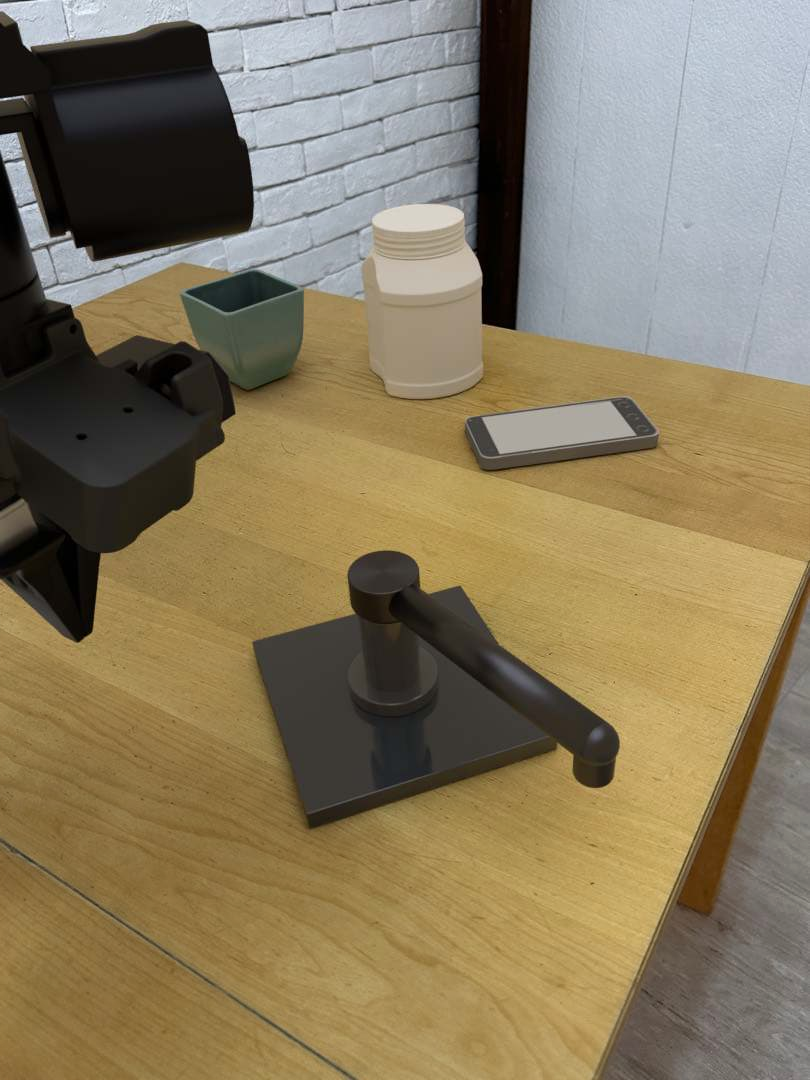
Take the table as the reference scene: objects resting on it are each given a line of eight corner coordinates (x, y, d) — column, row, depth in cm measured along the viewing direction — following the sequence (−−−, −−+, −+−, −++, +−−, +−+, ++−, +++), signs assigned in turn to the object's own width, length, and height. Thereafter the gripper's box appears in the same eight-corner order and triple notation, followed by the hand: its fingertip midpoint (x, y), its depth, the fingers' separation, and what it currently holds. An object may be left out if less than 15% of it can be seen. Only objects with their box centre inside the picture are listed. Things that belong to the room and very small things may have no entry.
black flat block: (309, 829, 46) (290, 732, 42) (254, 655, 57) (235, 564, 53) (557, 749, 49) (562, 651, 45) (460, 598, 60) (458, 509, 56)
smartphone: (662, 434, 74) (482, 459, 72) (660, 446, 74) (482, 471, 73) (629, 395, 80) (462, 417, 78) (628, 406, 80) (463, 428, 79)
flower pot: (317, 374, 90) (306, 286, 85) (242, 405, 85) (226, 314, 80) (267, 350, 95) (254, 266, 90) (195, 378, 91) (176, 291, 86)
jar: (363, 359, 92) (349, 208, 83) (451, 342, 94) (447, 193, 85) (396, 407, 83) (384, 243, 74) (493, 387, 85) (492, 226, 76)
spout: (338, 612, 50) (332, 570, 48) (392, 582, 51) (389, 541, 50) (580, 809, 38) (584, 764, 36) (639, 762, 40) (645, 717, 38)
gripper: (-198, 478, 20) (20, 884, 29) (309, 232, 33) (352, 572, 42) (-404, 383, 26) (-165, 753, 35) (100, 202, 38) (178, 510, 47)
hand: (78, 635), depth 39 cm, fingers closed
